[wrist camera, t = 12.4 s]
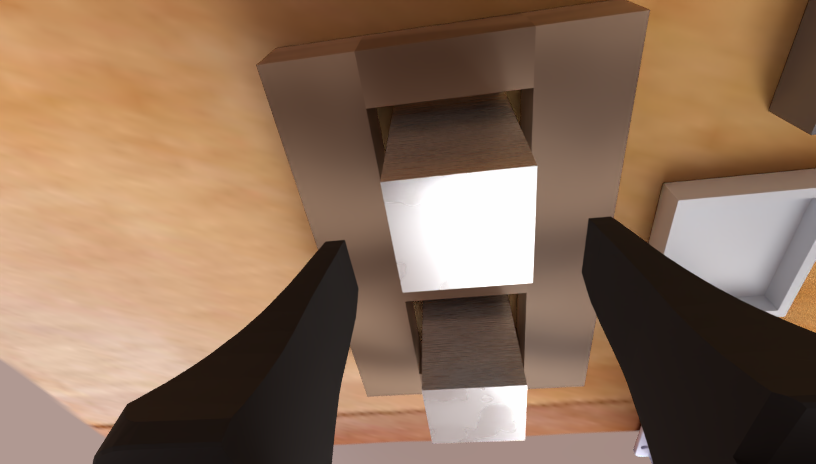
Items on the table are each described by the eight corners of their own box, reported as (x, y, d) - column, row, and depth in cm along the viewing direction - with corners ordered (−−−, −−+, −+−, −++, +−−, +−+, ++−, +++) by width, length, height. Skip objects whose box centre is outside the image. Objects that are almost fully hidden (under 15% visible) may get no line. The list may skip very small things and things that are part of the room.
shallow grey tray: (766, 295, 24) (784, 316, 22) (633, 304, 24) (644, 325, 23) (830, 166, 19) (857, 183, 18) (662, 183, 20) (678, 200, 18)
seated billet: (503, 326, 26) (525, 440, 20) (431, 331, 26) (432, 443, 21) (502, 272, 23) (527, 385, 18) (423, 278, 24) (421, 390, 18)
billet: (502, 179, 20) (532, 282, 14) (409, 189, 20) (402, 292, 15) (501, 85, 17) (537, 165, 12) (395, 99, 18) (380, 182, 12)
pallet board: (572, 352, 27) (584, 386, 25) (371, 364, 28) (367, 396, 26) (621, -2, 15) (649, 10, 13) (275, 48, 17) (256, 65, 15)
